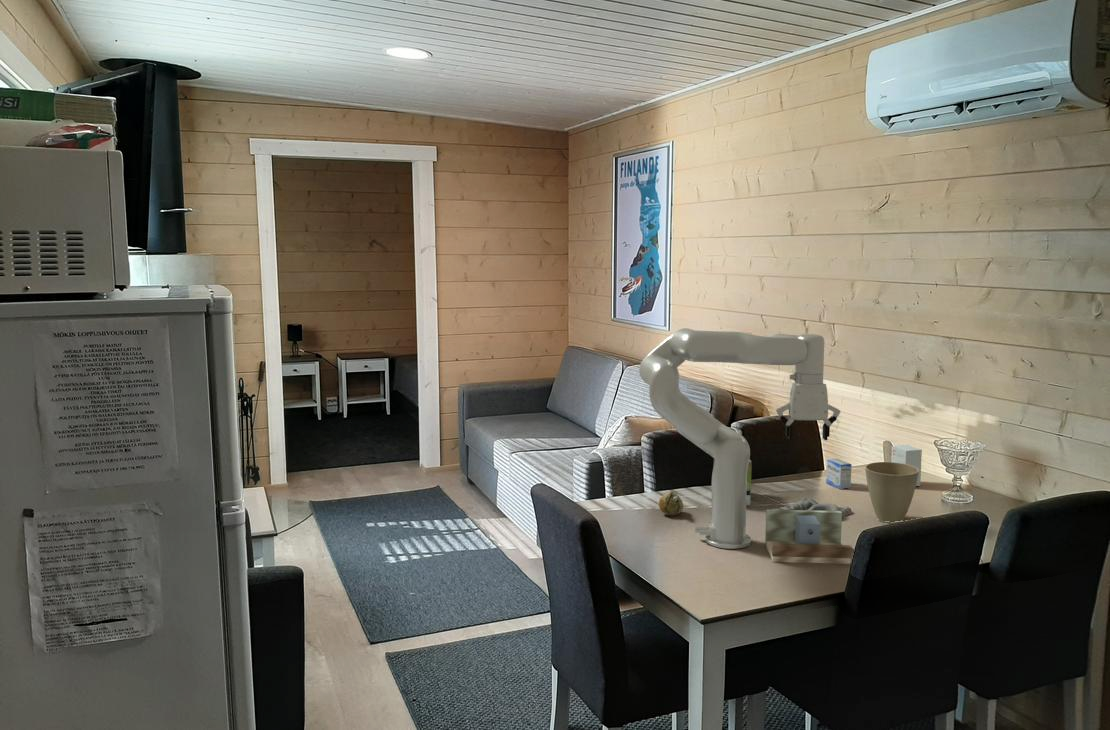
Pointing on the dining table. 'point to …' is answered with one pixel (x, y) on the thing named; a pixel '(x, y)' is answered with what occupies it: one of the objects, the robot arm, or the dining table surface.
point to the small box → (907, 457)
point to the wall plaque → (815, 507)
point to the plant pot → (891, 488)
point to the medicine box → (838, 473)
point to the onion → (671, 504)
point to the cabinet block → (807, 530)
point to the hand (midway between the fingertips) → (807, 439)
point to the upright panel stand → (786, 550)
